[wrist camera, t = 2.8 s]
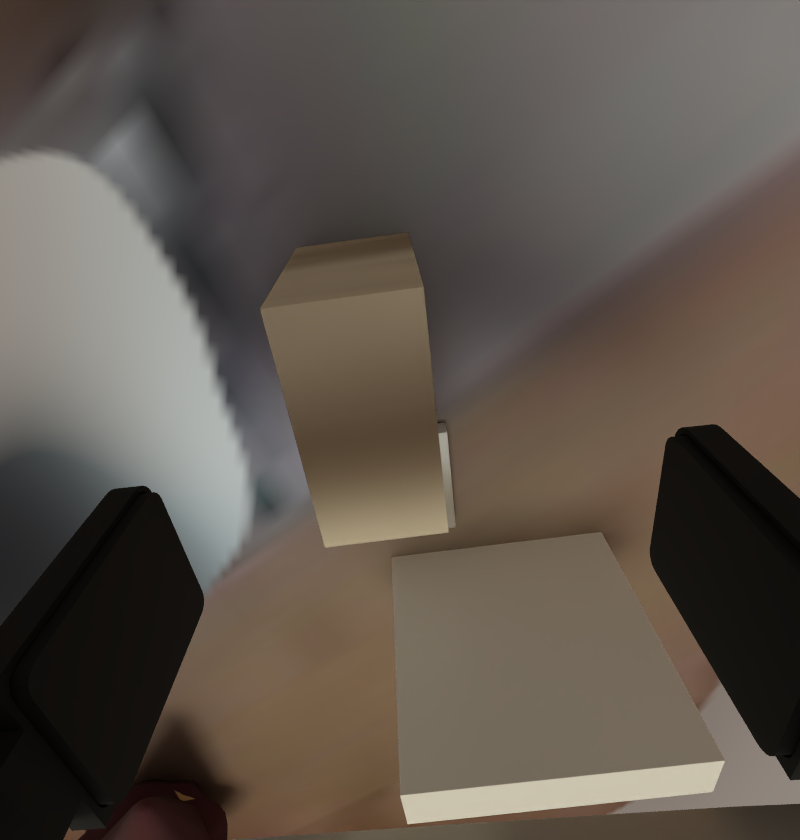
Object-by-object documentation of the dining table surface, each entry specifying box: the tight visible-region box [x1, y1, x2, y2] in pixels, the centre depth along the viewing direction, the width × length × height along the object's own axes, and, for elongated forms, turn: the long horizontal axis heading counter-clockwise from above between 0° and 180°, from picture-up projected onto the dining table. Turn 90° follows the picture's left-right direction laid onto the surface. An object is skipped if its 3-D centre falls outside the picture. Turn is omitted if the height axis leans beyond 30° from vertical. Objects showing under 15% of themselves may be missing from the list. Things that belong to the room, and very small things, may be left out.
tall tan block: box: [260, 232, 456, 547], centre depth 14 cm, size 10×4×5 cm, turn 7°
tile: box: [391, 532, 725, 824], centre depth 17 cm, size 2×8×8 cm, turn 97°
